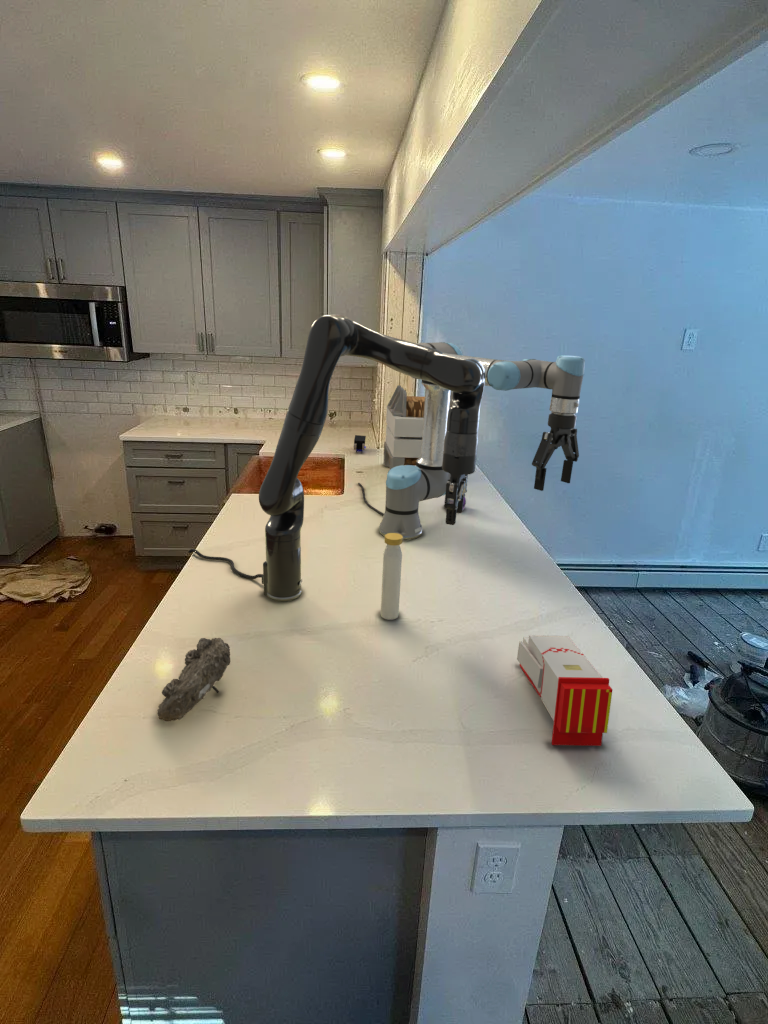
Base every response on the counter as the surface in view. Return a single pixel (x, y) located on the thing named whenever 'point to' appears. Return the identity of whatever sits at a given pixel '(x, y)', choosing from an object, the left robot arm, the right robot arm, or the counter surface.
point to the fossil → (195, 678)
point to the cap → (393, 539)
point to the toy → (567, 688)
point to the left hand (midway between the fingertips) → (454, 518)
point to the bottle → (391, 582)
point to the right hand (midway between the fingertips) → (552, 485)
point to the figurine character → (359, 443)
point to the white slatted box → (404, 429)
